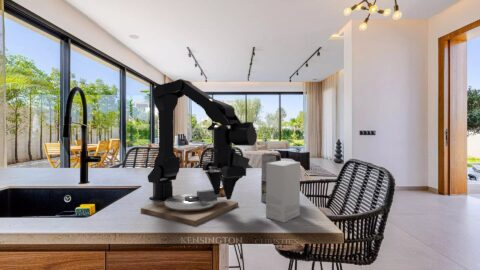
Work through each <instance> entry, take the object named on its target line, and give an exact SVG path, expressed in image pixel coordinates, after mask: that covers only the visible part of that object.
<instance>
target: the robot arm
mask: <svg viewBox="0 0 480 270" xmlns="http://www.w3.org/2000/svg"><path fill="white" fill-rule="evenodd" d="M184 96H186V97H187V98H188V99H190V100H191V101H192V102H194V103H195V104H196V105H198V106H199V107H201V109H203V110H204V113H205V115H206V117H208V118H209V119H210V120H211V121H212V123H211V124H210V125H209V126H208V127H207V131H213V136H212V139H213V144H212V145H213V146H212V147H213V148H210V152H211V153H212V154H213V155H212V156H213V159H212V161H211V160H210V161H204V162H203V163H202V171H205V172H204V174H205V175H206V176H207V179H208V181H209V183H210V185H211V187H212V189H214V192H215V194H216V195H218V194H219V192H220V187H221V185H222V187H223V189H224V192H225V196H226V197H225V198H226V199H225V200H228V201H230V200H231V199H232V196H233V192H234V190H235V186H236V184H237V182H238V181H239V180H240V179H242V178H243V177H246V176H247V169H248V166H249V164H250V158H248V157H245V156H243V155H241V154H240V153H237V150H236V149H235V148H233V146H242V147H243V146H244V147H245V146H248V147H252V146H255V145H256V143H257V140H258V139H257V138H258V133H257V131H256V128H255V127H254V122H253V121H246V122H241V120H240V119H239V117H238V116H237V114H236V110H235V107H234V106H232V105H231V104H228V103H226V102H223V101H220V100H218V99H215V98H213V97H212V96H211V95H209V94H208V93H206V92H204V91H203V90H202V89H200V88H199V87H197V86H196V85H194V84H193V83H191V81H190V80H188V79H187V80H186V79H182V78H179V79H175V80H173V81H169V82H165V83H162V84H160V83H159V84H157V85H155V86H154V88H153V90H152V97H153V98H152V99H153V103H154V105H155V107H156V109H157V110H158V111H157V112H158V153H157V155H156V157H155V158H154V162H153V169H152V170H151V171H150V172H149V174H148V175H147V181H148V183H151V184H152V196H150V197H149V200H154V201H158V202H163V201H165V200H166V199H167V198H169V197H172V196H174V195H173V194H174V192H173V191H174V190H173V189H174V188H173V187H174V186H173V181H176V180H177V175H178V174H179V172H180V169H181V163H180V162H181V158H180V156H177V155H176V153H175V151H174V150H175V148H174V146H175V145H174V137H175V136H174V135H175V134H174V111H175V109H176V107H177V105H178V101H179V99H181V98H183V97H184ZM228 126H229V127H228Z"/></svg>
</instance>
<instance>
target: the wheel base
mask: <svg viewBox="0 0 480 270" xmlns="http://www.w3.org/2000/svg"><path fill="white" fill-rule="evenodd" d="M237 207H239V201H232V200H227V199H222V198H217V205H216V206H215V207H213V208H210V209H206V210H201V211H190V212H184V211H174V210H170V209H167V208H166V207H165V201H158V202H156V203H153V204H150V205H146V206H143V207H140V213H144V214H146V215H150V216H151V215H152V216H155V217H159V218H164V219H167V220H170V221H171V220H172V221H175V222H180V223H183V224H188V225H191V226H197V225H200V224H202V223H205V222H206V221H208V220H210V219H213V218H214V217H217V216H219V215H221V214H223V213H226V212H228V211H230V210H233V209H234V208H237Z"/></svg>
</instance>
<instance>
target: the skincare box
mask: <svg viewBox="0 0 480 270" xmlns="http://www.w3.org/2000/svg"><path fill="white" fill-rule="evenodd" d="M300 185H301V162H300V161H293V160H282V159H281V161H277V162H271V163H266V202H265V218H267V219H270V220H274V221H277V222H280V223H285V222H288V221H290V220H293V219H294V218H297V217H299V216H300V207H301V206H300V204H301V203H300V197H301V196H300V191H301V190H300V189H301V188H300V187H301V186H300Z"/></svg>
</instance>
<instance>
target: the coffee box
mask: <svg viewBox="0 0 480 270" xmlns="http://www.w3.org/2000/svg"><path fill="white" fill-rule="evenodd" d="M277 161H282V153H279V152H278V153H276V152H275V153H273V152H272V153H271V152H270V153H266V152H265V153H263V154H262V155H261V178H260V179H261V180H260V181H261V182H260V183H261V184H260V185H261V187H260V190H261V191H260V192H261V194H260V196H261V197H260V201H261V202H262V203H266V163H271V162H277Z"/></svg>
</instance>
